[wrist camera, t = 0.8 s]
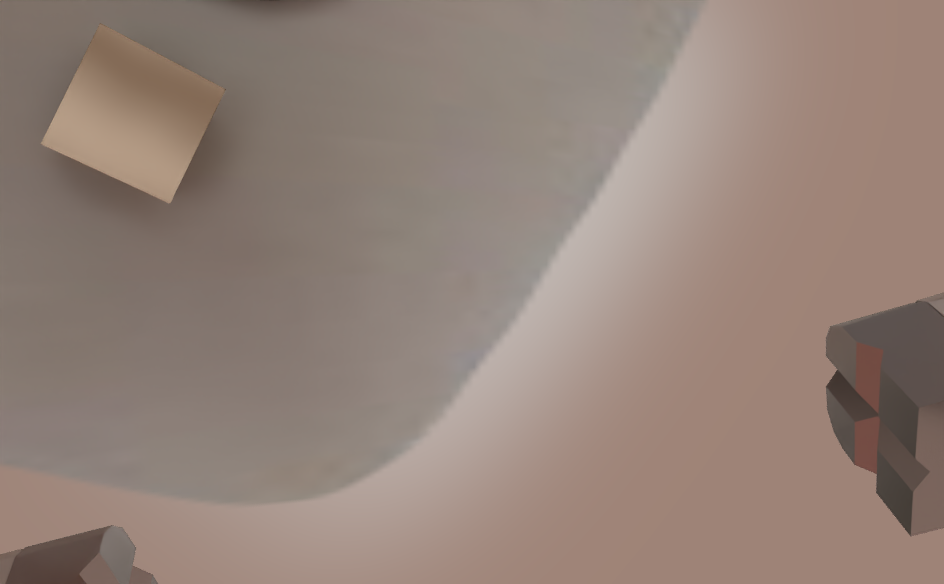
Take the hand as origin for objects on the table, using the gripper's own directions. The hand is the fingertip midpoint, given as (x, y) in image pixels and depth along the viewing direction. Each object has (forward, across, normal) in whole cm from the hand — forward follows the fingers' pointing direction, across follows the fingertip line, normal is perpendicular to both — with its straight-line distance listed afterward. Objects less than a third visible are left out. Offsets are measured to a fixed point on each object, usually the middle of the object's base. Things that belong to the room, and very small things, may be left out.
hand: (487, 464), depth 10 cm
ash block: (+36, +13, +6) cm, 39 cm away
